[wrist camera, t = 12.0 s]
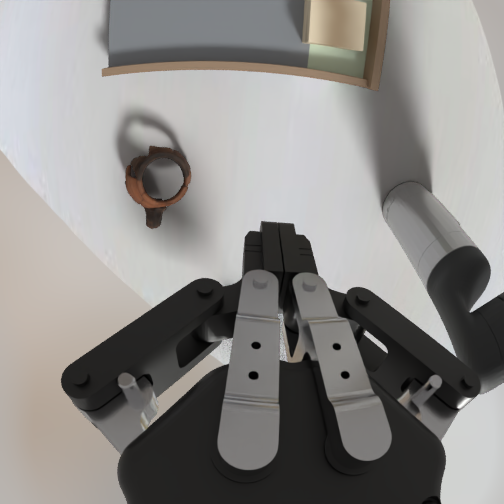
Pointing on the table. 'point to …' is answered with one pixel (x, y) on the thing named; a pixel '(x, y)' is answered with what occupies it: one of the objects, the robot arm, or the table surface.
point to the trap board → (238, 39)
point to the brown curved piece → (138, 192)
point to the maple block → (335, 23)
